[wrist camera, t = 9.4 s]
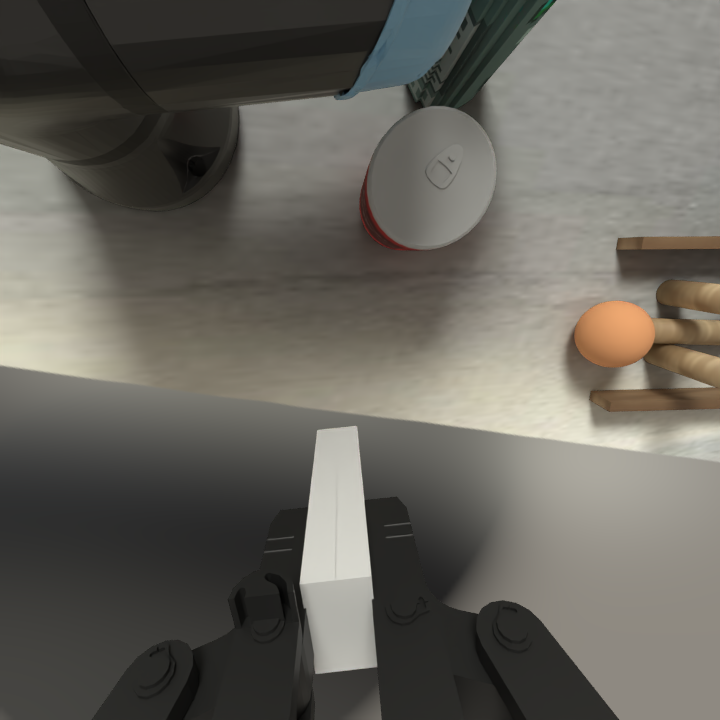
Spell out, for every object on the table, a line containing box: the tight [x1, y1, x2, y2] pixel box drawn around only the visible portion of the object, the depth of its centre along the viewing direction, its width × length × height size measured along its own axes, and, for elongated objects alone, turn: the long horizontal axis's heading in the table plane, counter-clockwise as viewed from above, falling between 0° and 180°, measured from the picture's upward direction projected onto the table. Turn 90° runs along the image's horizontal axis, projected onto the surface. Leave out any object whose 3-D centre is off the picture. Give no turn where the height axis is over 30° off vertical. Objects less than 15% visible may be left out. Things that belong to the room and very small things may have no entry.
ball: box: [574, 301, 655, 367], centre depth 34 cm, size 6×6×6 cm
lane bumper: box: [589, 236, 720, 412], centre depth 35 cm, size 16×15×3 cm
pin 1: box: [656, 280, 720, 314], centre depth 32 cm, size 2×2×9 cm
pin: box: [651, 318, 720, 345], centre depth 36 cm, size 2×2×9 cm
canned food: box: [359, 106, 497, 250], centre depth 27 cm, size 8×8×11 cm
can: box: [407, 0, 556, 109], centre depth 23 cm, size 6×6×15 cm
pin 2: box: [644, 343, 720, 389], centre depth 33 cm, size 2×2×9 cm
